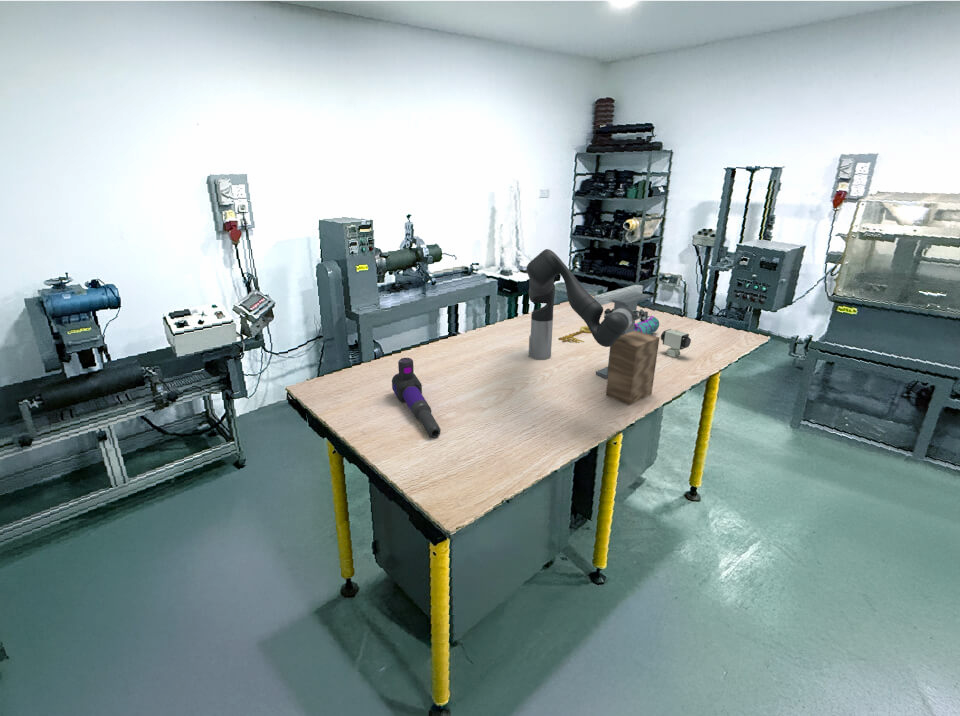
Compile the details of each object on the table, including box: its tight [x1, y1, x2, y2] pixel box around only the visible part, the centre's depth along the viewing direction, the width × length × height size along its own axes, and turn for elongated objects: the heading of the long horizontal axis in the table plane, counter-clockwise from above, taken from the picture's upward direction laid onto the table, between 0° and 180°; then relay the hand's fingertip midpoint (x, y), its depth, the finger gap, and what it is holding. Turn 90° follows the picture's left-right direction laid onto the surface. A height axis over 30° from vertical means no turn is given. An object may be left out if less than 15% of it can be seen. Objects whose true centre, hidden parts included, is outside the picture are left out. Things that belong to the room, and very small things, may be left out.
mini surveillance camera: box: [660, 328, 692, 359], centre depth 214 cm, size 6×12×12 cm, turn 38°
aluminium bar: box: [593, 284, 644, 306], centre depth 183 cm, size 26×3×3 cm, turn 130°
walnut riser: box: [605, 331, 661, 406], centre depth 177 cm, size 14×10×22 cm
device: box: [391, 357, 442, 438], centre depth 165 cm, size 9×36×15 cm, turn 24°
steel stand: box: [595, 293, 651, 380], centre depth 192 cm, size 16×10×32 cm, turn 130°
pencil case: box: [634, 315, 660, 335], centre depth 236 cm, size 21×9×10 cm, turn 139°
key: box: [557, 325, 592, 344], centre depth 240 cm, size 11×25×2 cm, turn 138°
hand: (629, 311), depth 178 cm, fingers open, 8 cm apart
